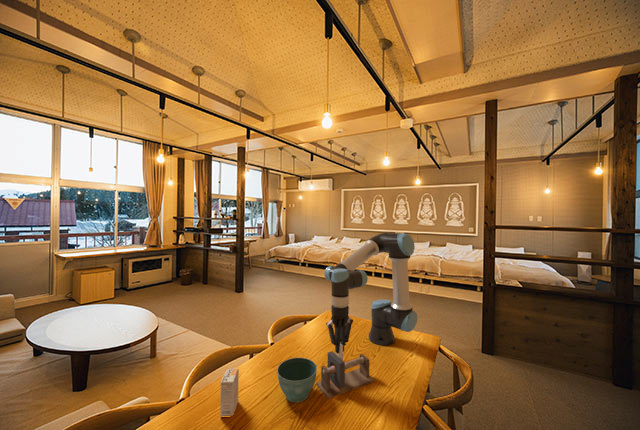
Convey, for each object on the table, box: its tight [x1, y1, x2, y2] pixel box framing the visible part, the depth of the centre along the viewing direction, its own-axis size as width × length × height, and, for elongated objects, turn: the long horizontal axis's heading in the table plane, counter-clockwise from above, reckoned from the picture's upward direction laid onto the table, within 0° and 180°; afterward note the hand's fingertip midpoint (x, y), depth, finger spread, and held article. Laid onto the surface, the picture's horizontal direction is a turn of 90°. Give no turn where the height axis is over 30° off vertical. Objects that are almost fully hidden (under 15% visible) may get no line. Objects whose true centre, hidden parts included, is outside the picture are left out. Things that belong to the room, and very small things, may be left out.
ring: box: [327, 350, 346, 388], centre depth 108 cm, size 2×10×10 cm, turn 28°
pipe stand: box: [316, 353, 376, 400], centre depth 111 cm, size 24×10×9 cm, turn 118°
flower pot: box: [276, 357, 318, 404], centre depth 103 cm, size 16×16×11 cm
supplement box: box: [219, 368, 240, 417], centre depth 95 cm, size 8×5×13 cm, turn 5°
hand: (339, 359), depth 109 cm, fingers closed
